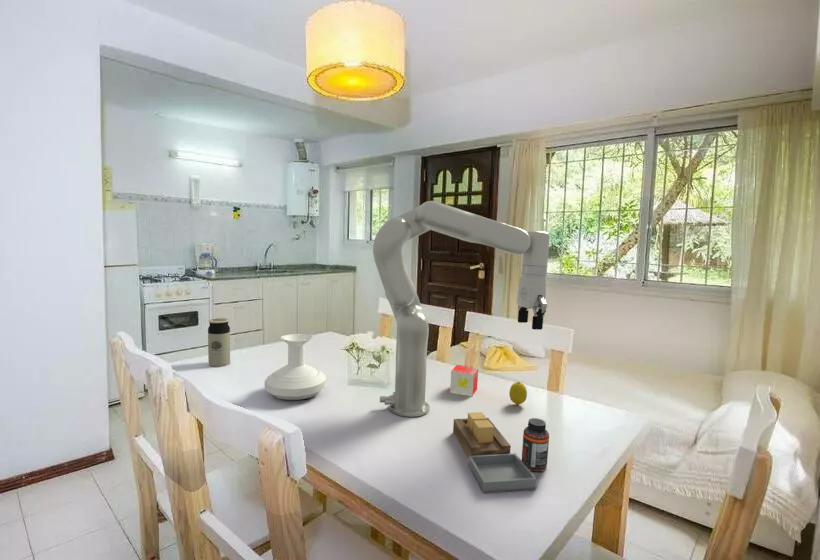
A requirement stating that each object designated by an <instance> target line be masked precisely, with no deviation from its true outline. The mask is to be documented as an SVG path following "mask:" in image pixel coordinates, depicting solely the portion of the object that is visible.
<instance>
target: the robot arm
mask: <svg viewBox="0 0 820 560" xmlns="http://www.w3.org/2000/svg"><path fill="white" fill-rule="evenodd" d="M430 231H433V232H436V233H438V234H442V235H444V236H445V235H446V236H448V237H451V238H455V239H458V240H460V241H463V242H468V243H472V244H473V243H474V244H480V245H484V246H488V247H490V248H491V247H492V248H494V249H497V250H500V251H501V252H503V253H504V254H510V255H517V256H518V255H522V257H521V259H522V260H521V271H520V272H521V274H520V278H519V284H518V291H517V298H516V303H517V305H518V307H517V309H518V311H517V312H518V313H517V323H520V324H521V323H524V324H525V323H528V322H529V321H528V320H529V310H532V312H533V315H532V322H531V329H532V330H536V331H537V330H543V329H544V328H543V326H544V317H545V313H546V312H547V310H546V309H547V307H548V303H547V301H546V293H547V290H546V289H547V286H546V285H547V284H546V282H547V281H546V277H547V272H548V260H549V250H550V249H549V248H550V233H548V231H544V230H543V231H542V230H527V231H526V230H524V229H522V228H519V227H516V226H514V225H510V224H507V223H504V222H501V221H498V220H494V219H491V218H487V217H484V216H482V215H480V214H476V213H472V212H469V211H466V210H462V209H460V208H458V207H457V208H456V207H455V206H451V205H448V204H445V203H443V202H438V201H436V200H428V201H425V202H423V203H422V204H420V205H418V206H416V207H414V208H413V209H410V210H408V211H406V212H404V213H402V214H400V215H397V216H394V217H391V218H389V219H387V220H386V221H385V222H384V223H383V225H382V226H381V227H380V228H379V229H378V231H377V233H376V235H375V237H374V240H373V245H372V255H373V260H374V262H375V263H374V264H375V266H376V269H377V272H378V275H379V277H380V281H381V283H382V286H383V290H384V294H385V295H384V296H385V297H386V300H387V302H388V303H389V305H390V308H391V311H392V313H393V316H394V319H395V322H396V345H395V346H396V347H395V377H394V379H395V380H394V381H395V382H394V391H393V392H392V394H390V395H389V396H386V395H380V396H379V403H380V404H381V403H383V404H384V405H386V406H389V410H390V411H391V413H393V414H394V415H397V416H400V417H409V418H411V417H412V418H417V417H421V416H424V415H426V414H428V413H429V412H430V410H431V409H430V404H429V403H428V402H427V401H426V387H427V386H426V385H427V384H426V383H427V360H428V359H427V358H428V357H427V356H428V342H429V341H428V340H429V333H430V332H429V331H430V330H429V327H430V324H429V319H428V318H427V316H426V314H425V312H424V309H423V307H422V304H421V302H420V301H421V300H420V298H419V296H418V293H417V290H416V287H415V284H414V282H413V281H412V279H411V276H410V274H409V271H408V268H407V265H406V262H405V259H404V256H403V247H404V245H405V244H406V243H407V242H408V241H410V240H412V239H415V238H416V237H418V236H421V235H423V234H425V233H427V232H430Z"/></svg>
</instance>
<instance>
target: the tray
mask: <svg viewBox="0 0 820 560" xmlns="http://www.w3.org/2000/svg"><path fill="white" fill-rule="evenodd" d="M467 459H468V460H467V467H468V468H469V470H470V472H471V474H472V475H473V477H474V480H475V482H477V485H478V486H479V489H480V490H481V492H482V493H483V494H494V493H507V492H521V491H533V490H534V491H536V490H537V477H536V476H535V475H534V474H533V473H532V471H531V470H529V469H528V468H527V467H526V465H525V464H524V463H523V462H522V458H520V456H519V455H518V454H517V453H516V452H515V453H511V452H510V454H493V455H475V456H468V458H467Z"/></svg>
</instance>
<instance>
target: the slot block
mask: <svg viewBox="0 0 820 560" xmlns="http://www.w3.org/2000/svg"><path fill="white" fill-rule="evenodd" d="M486 418H487V420H489V422H490V423H491V424H492V425H493V427H494V433H493V442H486V443H478V442H477V441H476V439H475V438H474V436H473V434H472V433H471V432H470V430H469V429H468V427H467V421H468V417H467V418H454V419H453V425H452V426H453V429H452V430H453V431H452V434H453V435H454V437H455V439H456V440H457V442H458V444H459V446H460V447H461V449H462V451H463V452H464V454H465V456H466V458H467V459H468V456H475V455H493V454H511V447H512V445H511V444H510V443H509V442H508V441H507V439H506V438H505V437H504V435H503V434H502V433H501V432H500V431H499V430H498V428H497V427H496V425H495V424H494V422H492V421H491V420H490V418H489V417H486Z"/></svg>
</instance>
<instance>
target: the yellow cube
mask: <svg viewBox="0 0 820 560" xmlns="http://www.w3.org/2000/svg"><path fill="white" fill-rule="evenodd" d="M467 418H468V421H467V427H468V429H469V430H470V432H471V433H472V434H473V425H474V421H480V420H487V418H488V417H487V416H486V415H485V414H484V413H483V412H482V411H480V412H479V411H476V412H468V413H467Z"/></svg>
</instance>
